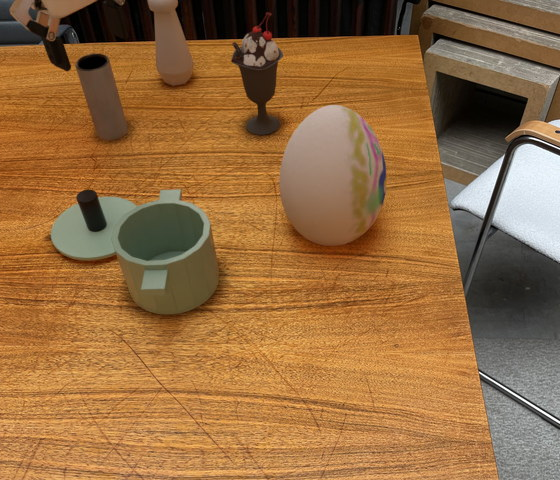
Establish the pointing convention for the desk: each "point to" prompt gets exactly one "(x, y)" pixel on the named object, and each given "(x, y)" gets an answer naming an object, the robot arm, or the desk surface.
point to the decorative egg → (333, 176)
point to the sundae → (259, 75)
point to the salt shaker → (170, 43)
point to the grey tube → (102, 96)
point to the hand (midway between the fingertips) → (91, 51)
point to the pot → (167, 254)
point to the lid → (89, 226)
